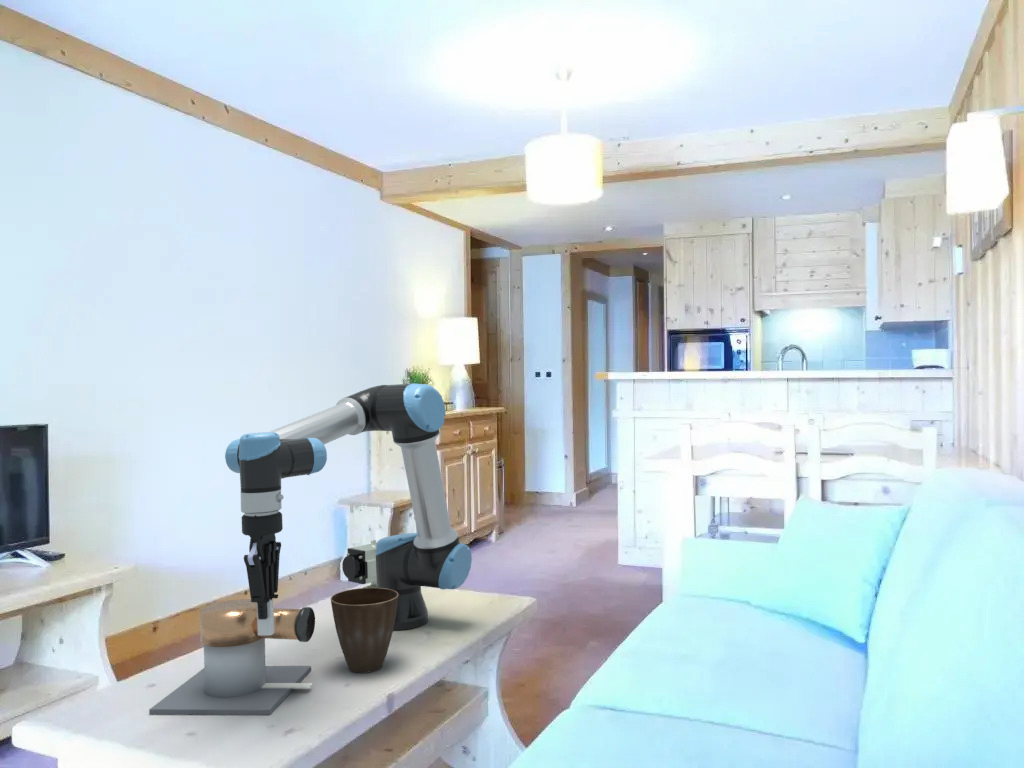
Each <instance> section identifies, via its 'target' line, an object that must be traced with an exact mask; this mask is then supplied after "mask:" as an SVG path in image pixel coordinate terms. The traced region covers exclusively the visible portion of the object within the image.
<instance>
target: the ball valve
mask: <svg viewBox="0 0 1024 768" xmlns="http://www.w3.org/2000/svg"><path fill="white" fill-rule="evenodd" d="M376 544H377V540H376V539H371V540H370V543H368V544H363V545H359V546H354V547H350V548H347V553H346V556H345V557H344V558H343V560H342V565H341V566H342V567H341V568H342V572H343V574H344V576H345V578H347V579H348V582H352V583H356V584H361V585H366V584H369V585H366V586H363V587H362V588H377V575H376V556H375V555H376Z"/></svg>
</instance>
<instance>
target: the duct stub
mask: <svg viewBox="0 0 1024 768" xmlns="http://www.w3.org/2000/svg"><path fill="white" fill-rule="evenodd" d="M203 666H204V667H203V668H202V669H201V670H200V671H198V672H197V673H196V674H194V675H193V676H192V677H190V678H189V679H188V680H186V681H185V682H184V683H181V685H180V686H179V687H177V688H176V689H174V690H173V691H172V692H171V693H169V694H168V695H166V696H165V697H164V698H162V699H161V700H160V701H158V702H157V703H156V704H155V705H153V706H152V707H150V708H149V710H148V711H149V712H148V713H149V714H152V716H153V715H154V714H184V715H185V714H197V715H196V716H198V715H199V714H200V715H199V716H204V715H205V716H221V715H222V716H271V715H272V713H273V712H274V711H275V710H276V709H277V708H278V707H279V706H280V705H281V704H282V703H283V702H284V701H285V699H286V698H287V697H288V696H289V695H290V694H292V692H293V691H294V689H310V688H311V687H312V686H313V684H314V683H313V682H302V681H303V680H304V679H305V678H306V677H307V676H308V675H309V673H311V671H312V665H267V664H266V638H262V639H260V640H258V641H255V642H252V643H248V644H243V645H238V646H230V647H212V646H206V645H204V644H203ZM184 715H183V716H184ZM154 716H155V715H154Z"/></svg>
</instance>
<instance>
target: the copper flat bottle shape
mask: <svg viewBox="0 0 1024 768" xmlns="http://www.w3.org/2000/svg"><path fill="white" fill-rule="evenodd" d="M273 609H274V634H272V635H258V626H257V602H251V598H250V599H249V598H248V599H247V598H242V599H231V600H225V601H221V602H220V601H219V602H216V603H215V602H214V603H212V604H209V605H207V606H204V607H202V608H201V609H200V610H199V626H200V627H199V628H200V629H199V632H200V637H199V638H200V643H201V644H202V645H203V646H204V645H206V646H212V647H230V646H238V645H243V644H248V643H252V642H255V641H258V640H260V639H262V638H265V639H267V640H268V639H270V640H271V639H273V640H293V641H294V640H297V641H299V642H300V643H308V642H309V641H310V640H311V639H312V637H313V635H314V632H315V627H316V616H315V615H316V614H315V611H314V609H313V608H312V607H309V606H304V607H302V608H282V607H281V608H276V607H273Z"/></svg>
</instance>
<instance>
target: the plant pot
mask: <svg viewBox="0 0 1024 768" xmlns="http://www.w3.org/2000/svg"><path fill="white" fill-rule="evenodd" d="M397 603H398V592H396V591H394V590H391V589H386V588H363V587H359V588H353V589H348V590H343V591H340V592H336V593H334V594H333V595H332V596H331V597H330V604H331V610H332V616H333V621H334V626H335V627H334V628H335V630H336V634H337V638H338V641H339V645H340V648H341V651H342V654H343V657H344V660H345V662H346V664H347V667H348V669H349V670H350V672H354V673H359V674H361V673H365V674H366V673H372V672H376V671H378V670H380V669H382V667H383V666H384V663H385V659H386V657H387V653H388V651H389V647H390V644H391V643H390V642H391V639H392V636H393V631H394V630H393V628H394V623H395V617H396V611H397Z"/></svg>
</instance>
